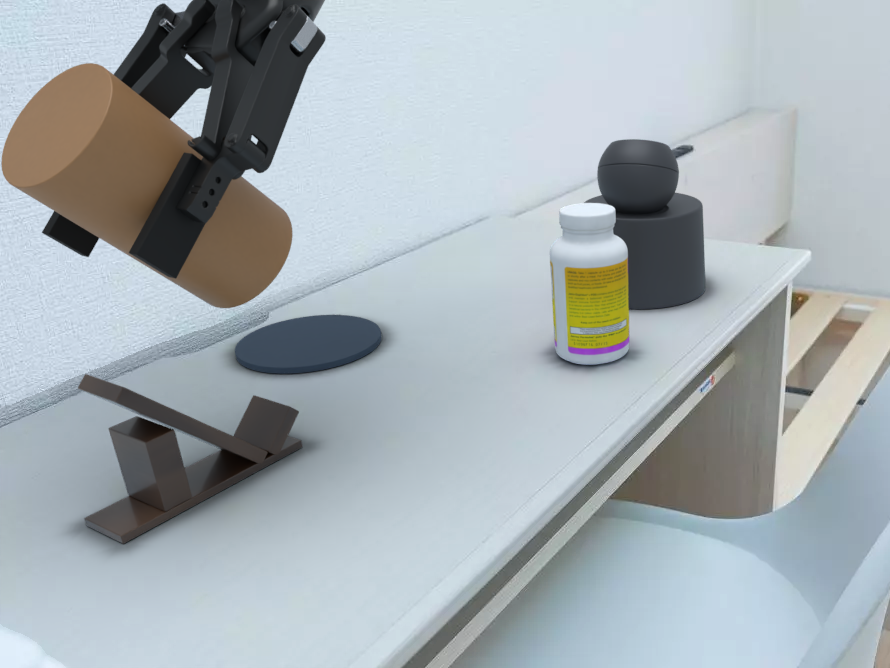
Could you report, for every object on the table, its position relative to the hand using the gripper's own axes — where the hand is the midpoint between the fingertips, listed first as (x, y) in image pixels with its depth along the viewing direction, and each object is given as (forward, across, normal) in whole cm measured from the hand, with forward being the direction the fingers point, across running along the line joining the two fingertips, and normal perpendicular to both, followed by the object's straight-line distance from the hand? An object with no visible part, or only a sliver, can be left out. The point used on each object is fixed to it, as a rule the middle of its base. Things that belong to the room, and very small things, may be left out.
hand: (107, 254), depth 52 cm
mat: (-5, +13, -28) cm, 31 cm away
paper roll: (-5, 0, -1) cm, 5 cm away
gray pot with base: (-25, -6, -49) cm, 55 cm away
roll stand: (+10, 0, -13) cm, 17 cm away
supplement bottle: (-12, -11, -36) cm, 40 cm away
